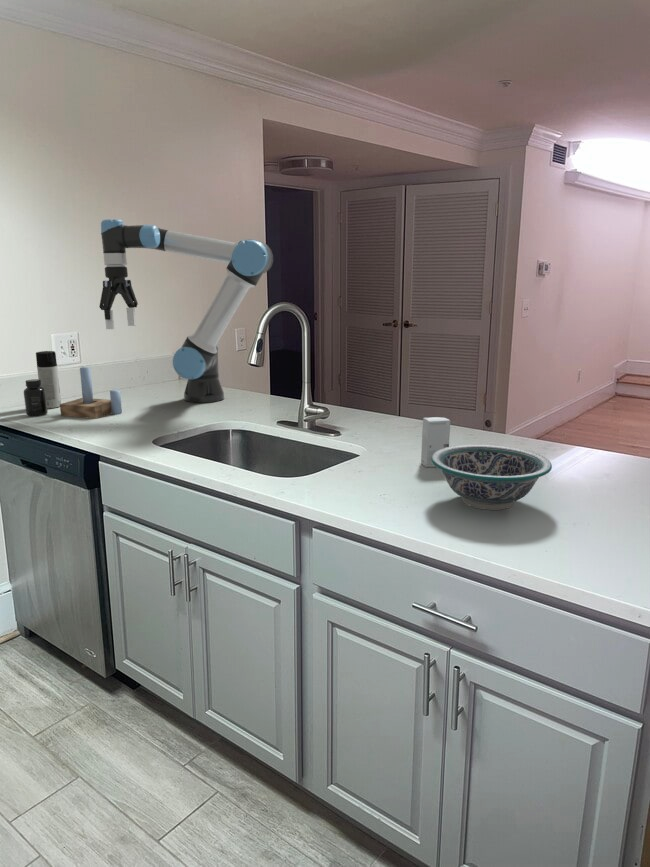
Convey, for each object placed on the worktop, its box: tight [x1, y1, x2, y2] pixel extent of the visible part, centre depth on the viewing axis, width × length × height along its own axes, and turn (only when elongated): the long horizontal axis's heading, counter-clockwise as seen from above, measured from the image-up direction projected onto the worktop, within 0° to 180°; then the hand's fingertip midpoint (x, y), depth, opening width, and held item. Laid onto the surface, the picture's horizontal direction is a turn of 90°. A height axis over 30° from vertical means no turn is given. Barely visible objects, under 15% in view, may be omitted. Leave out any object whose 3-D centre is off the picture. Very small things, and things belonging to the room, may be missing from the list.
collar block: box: [59, 397, 112, 419], centre depth 226 cm, size 14×12×4 cm
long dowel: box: [79, 366, 94, 404], centre depth 224 cm, size 3×3×16 cm
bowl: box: [431, 443, 553, 511], centre depth 141 cm, size 25×25×10 cm
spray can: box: [35, 350, 62, 409], centre depth 234 cm, size 7×7×20 cm
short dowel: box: [109, 389, 123, 415], centre depth 225 cm, size 3×3×8 cm
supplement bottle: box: [23, 378, 49, 417], centre depth 223 cm, size 7×7×12 cm
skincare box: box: [420, 416, 451, 468], centre depth 167 cm, size 6×4×12 cm
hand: (121, 327), depth 233 cm, fingers open, 13 cm apart
